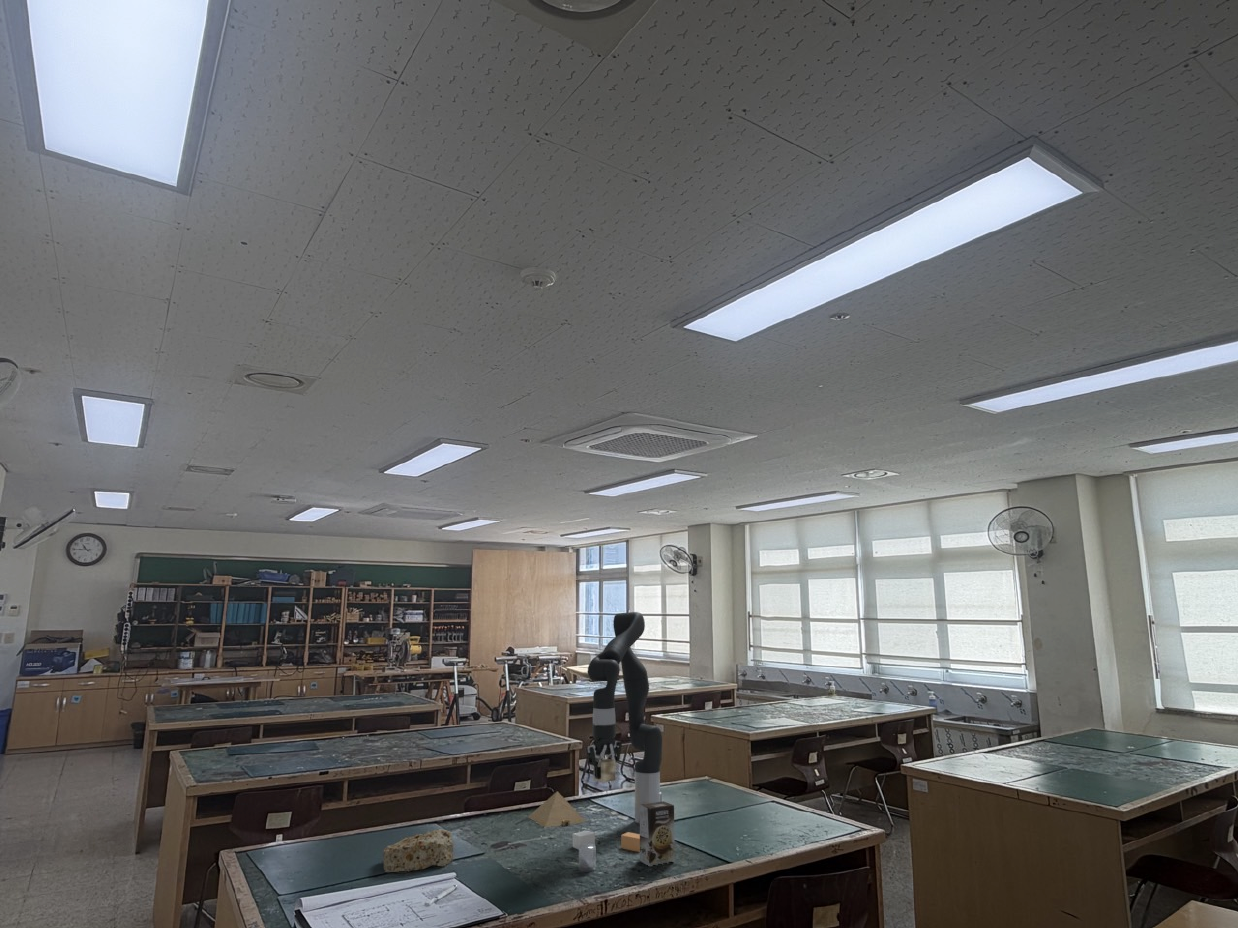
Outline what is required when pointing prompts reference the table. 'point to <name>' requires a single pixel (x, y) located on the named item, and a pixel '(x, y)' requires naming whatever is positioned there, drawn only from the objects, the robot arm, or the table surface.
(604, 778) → the maple block
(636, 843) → the orange plastic block
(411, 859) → the rock
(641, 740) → the robot arm
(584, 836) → the off-white plastic block
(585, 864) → the brushed metal cylinder
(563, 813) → the model pyramid
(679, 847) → the table surface
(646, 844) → the coffee box
